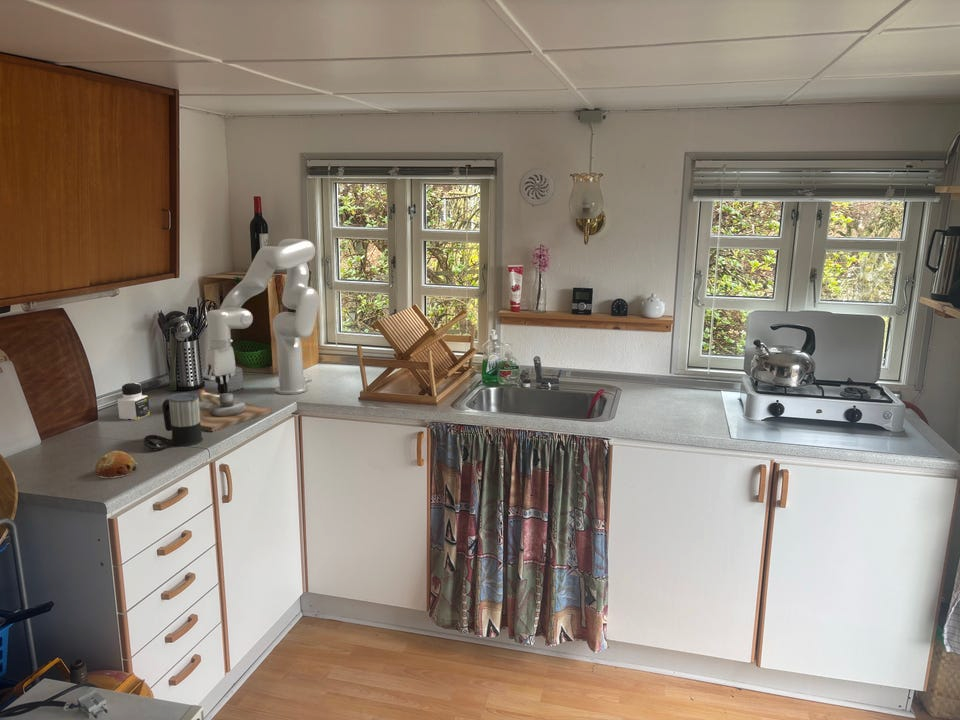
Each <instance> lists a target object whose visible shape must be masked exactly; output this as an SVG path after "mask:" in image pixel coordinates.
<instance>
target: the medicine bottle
mask: <svg viewBox="0 0 960 720" xmlns="http://www.w3.org/2000/svg"><path fill="white" fill-rule="evenodd" d="M121 392H122V397H121V398H118V399H117V409H118V417H119V419H120V420H128V419H131V421H139V420H140V418H141V419H143V418H145V417H148V416H150V414H151V413H150V404H149V396H148V395H143V393H142V385H141V383H138V382H129V383H125V384H123V385H122V386H121Z"/></svg>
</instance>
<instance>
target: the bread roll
mask: <svg viewBox="0 0 960 720" xmlns="http://www.w3.org/2000/svg"><path fill="white" fill-rule="evenodd" d="M137 465H138V463H137V461H135V458H134V457H132V456H131V455H130V454H129V453H126V452H124V451H120V450H113V451H109V452H108V453H105V454H104V455H102V456H101V457H100V458H99V459H98V460H97V461H96V464H95V470H94V471H95V474H96V476H97V475H98V476H103V477H114V476H121V475H126V474H129V473H132V472H133V471H135V472H136V471H137ZM133 473H134V472H133ZM133 473H132V474H133ZM98 476H97V477H98Z"/></svg>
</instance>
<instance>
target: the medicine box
mask: <svg viewBox="0 0 960 720" xmlns="http://www.w3.org/2000/svg"><path fill="white" fill-rule="evenodd" d="M234 373H235V375H233V376H232V377H230V379H229V382H228V383H227V389H228V393H230V392H229V391H231V392H234V391H233V390H235V391H238V390H237V389H239V390H242V389H241V388H243V389H244V379H243V378H244V376H243V368H241V367H238V366H236V369H235V372H234Z"/></svg>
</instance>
